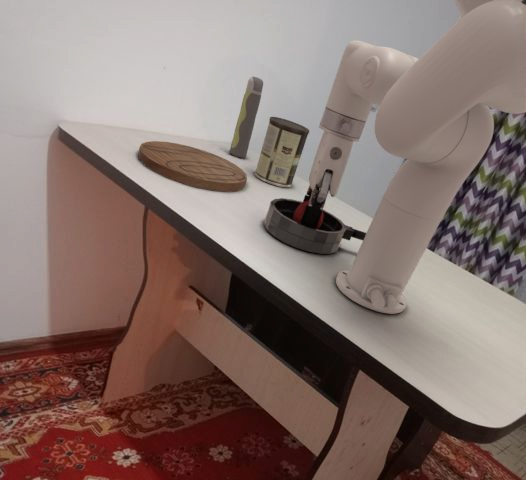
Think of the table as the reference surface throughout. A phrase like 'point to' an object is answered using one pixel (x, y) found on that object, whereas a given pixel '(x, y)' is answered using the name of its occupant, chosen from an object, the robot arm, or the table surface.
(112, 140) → the table surface
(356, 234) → the pan handle
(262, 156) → the coffee can
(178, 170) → the trivet
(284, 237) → the pan
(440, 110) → the robot arm
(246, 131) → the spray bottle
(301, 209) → the onion
